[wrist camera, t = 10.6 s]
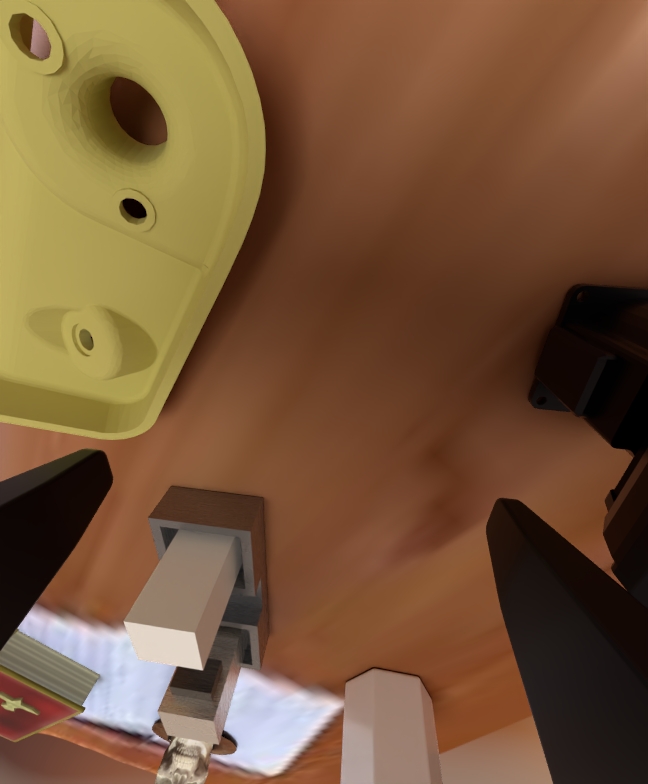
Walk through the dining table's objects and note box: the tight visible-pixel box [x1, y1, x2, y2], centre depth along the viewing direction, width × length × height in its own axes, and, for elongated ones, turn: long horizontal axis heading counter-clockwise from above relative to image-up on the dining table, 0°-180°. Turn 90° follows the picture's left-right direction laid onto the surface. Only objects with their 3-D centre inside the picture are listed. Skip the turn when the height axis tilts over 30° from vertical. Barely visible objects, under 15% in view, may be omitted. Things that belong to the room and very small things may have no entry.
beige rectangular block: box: [124, 529, 242, 670], centre depth 23 cm, size 4×5×7 cm
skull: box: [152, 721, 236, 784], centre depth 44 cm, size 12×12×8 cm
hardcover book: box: [0, 629, 100, 742], centre depth 43 cm, size 12×21×4 cm, turn 133°
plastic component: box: [0, 0, 266, 440], centre depth 16 cm, size 20×7×10 cm
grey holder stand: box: [148, 486, 269, 745], centre depth 26 cm, size 7×18×8 cm, turn 177°
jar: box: [341, 668, 443, 784], centre depth 30 cm, size 9×8×12 cm
